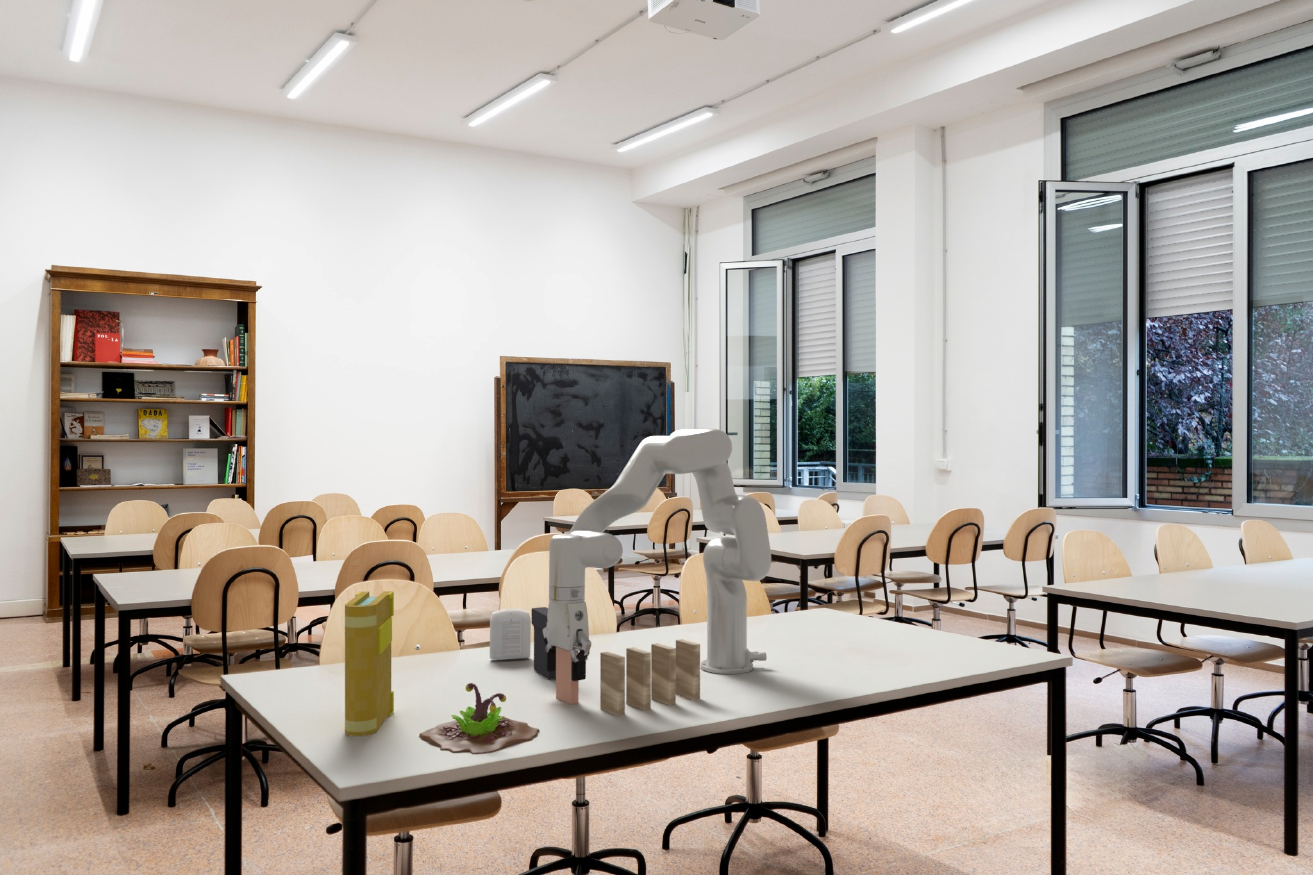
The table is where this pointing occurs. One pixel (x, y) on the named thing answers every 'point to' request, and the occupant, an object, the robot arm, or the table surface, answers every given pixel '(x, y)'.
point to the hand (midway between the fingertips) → (565, 675)
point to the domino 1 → (565, 677)
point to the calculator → (540, 642)
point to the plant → (479, 729)
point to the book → (368, 662)
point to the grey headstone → (510, 634)
